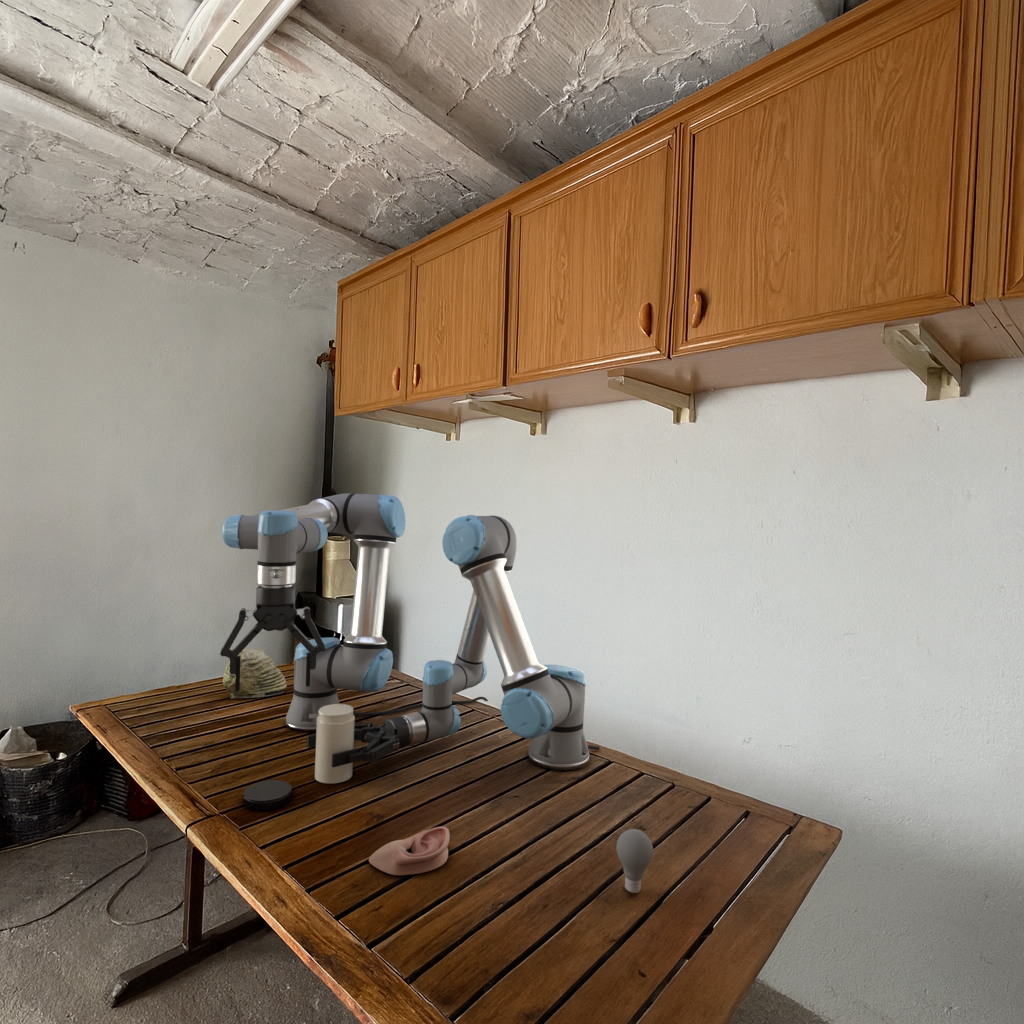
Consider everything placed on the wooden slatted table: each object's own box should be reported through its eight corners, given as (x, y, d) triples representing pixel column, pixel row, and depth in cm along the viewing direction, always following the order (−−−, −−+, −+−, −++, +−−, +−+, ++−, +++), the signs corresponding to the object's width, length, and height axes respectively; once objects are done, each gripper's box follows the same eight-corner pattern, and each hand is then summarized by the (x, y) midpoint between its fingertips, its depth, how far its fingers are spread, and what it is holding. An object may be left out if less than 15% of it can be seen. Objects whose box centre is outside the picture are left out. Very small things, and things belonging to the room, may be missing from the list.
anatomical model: (361, 846, 108) (388, 814, 119) (360, 870, 108) (387, 835, 119) (436, 859, 105) (456, 825, 117) (435, 882, 105) (455, 846, 117)
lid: (253, 816, 125) (253, 805, 125) (235, 798, 132) (236, 788, 132) (299, 802, 131) (299, 792, 131) (280, 785, 138) (280, 776, 138)
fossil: (218, 695, 195) (220, 647, 195) (278, 685, 208) (279, 640, 207) (228, 703, 189) (230, 653, 188) (289, 692, 201) (290, 645, 201)
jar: (319, 767, 148) (321, 703, 148) (355, 767, 149) (358, 703, 148) (310, 783, 140) (312, 715, 139) (348, 784, 140) (351, 716, 140)
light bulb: (610, 879, 108) (613, 822, 108) (644, 879, 109) (647, 822, 109) (619, 902, 102) (622, 840, 102) (655, 901, 103) (658, 840, 103)
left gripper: (207, 589, 123) (204, 697, 124) (340, 587, 132) (336, 688, 132) (211, 583, 130) (208, 685, 131) (336, 581, 139) (333, 677, 139)
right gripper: (430, 763, 147) (343, 787, 133) (378, 731, 165) (297, 749, 151) (431, 731, 147) (345, 752, 132) (379, 702, 165) (298, 718, 151)
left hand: (273, 687), depth 131 cm, fingers open, 13 cm apart
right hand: (319, 751), depth 142 cm, fingers open, 12 cm apart
